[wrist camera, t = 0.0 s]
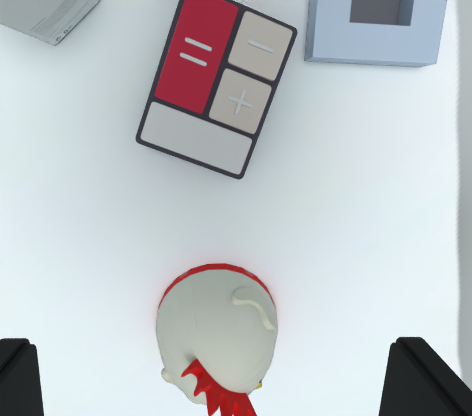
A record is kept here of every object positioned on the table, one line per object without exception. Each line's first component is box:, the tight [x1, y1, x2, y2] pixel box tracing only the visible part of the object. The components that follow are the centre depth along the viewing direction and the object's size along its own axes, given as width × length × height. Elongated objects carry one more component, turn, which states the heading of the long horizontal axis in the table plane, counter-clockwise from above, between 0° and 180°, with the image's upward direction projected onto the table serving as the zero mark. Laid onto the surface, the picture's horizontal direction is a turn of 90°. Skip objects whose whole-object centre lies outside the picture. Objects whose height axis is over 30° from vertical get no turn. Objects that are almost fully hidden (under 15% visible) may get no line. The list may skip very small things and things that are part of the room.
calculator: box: [136, 0, 297, 179], centre depth 36 cm, size 11×4×15 cm
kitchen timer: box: [156, 264, 278, 416], centre depth 37 cm, size 14×14×15 cm
